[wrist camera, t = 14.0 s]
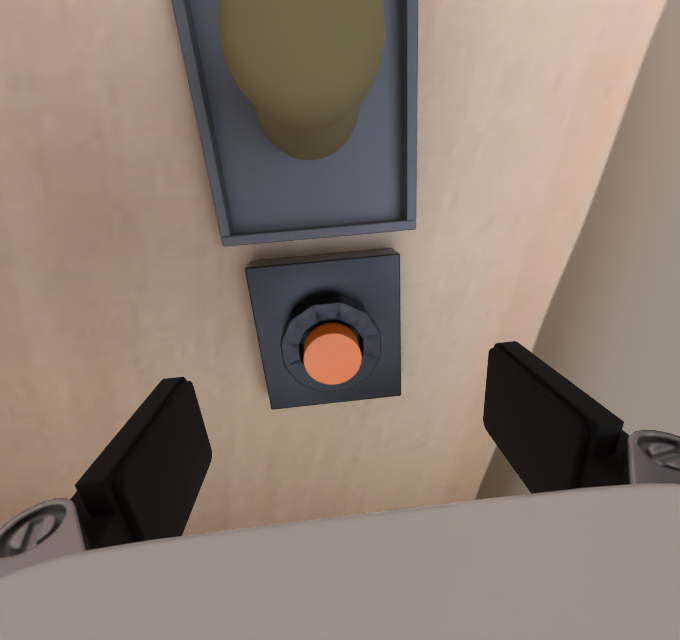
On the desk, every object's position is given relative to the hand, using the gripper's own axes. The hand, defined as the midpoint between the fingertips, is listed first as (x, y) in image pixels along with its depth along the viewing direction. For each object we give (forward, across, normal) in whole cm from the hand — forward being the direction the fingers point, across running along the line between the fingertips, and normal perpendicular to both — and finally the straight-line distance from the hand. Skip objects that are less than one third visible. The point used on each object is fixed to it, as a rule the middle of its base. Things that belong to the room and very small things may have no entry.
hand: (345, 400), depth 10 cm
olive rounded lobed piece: (+14, 0, -11) cm, 18 cm away
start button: (+11, 0, +3) cm, 12 cm away
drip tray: (+14, 0, -11) cm, 18 cm away
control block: (+15, 0, +3) cm, 15 cm away
